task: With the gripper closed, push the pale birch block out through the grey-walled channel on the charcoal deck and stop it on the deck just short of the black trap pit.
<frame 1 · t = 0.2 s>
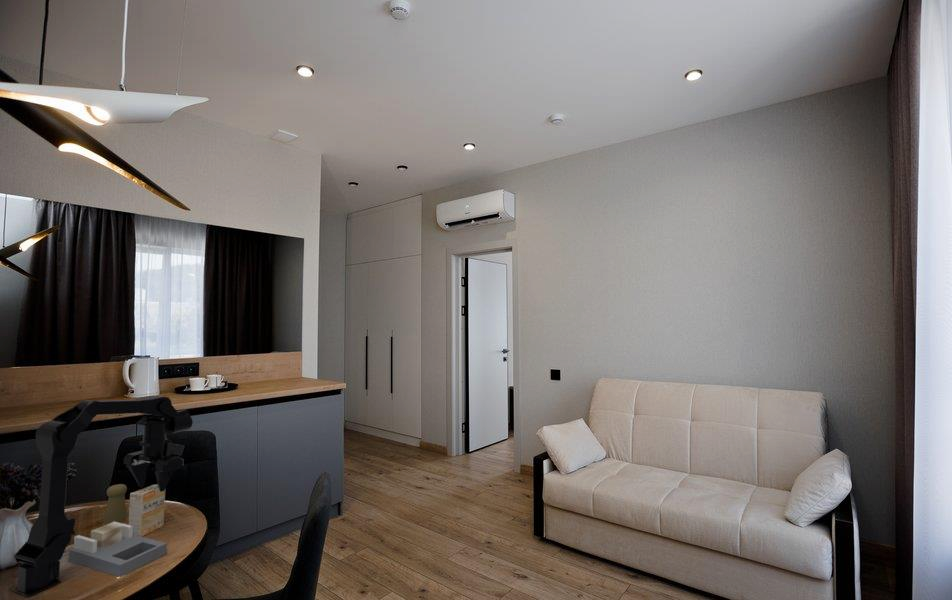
hand: (151, 489, 135), 14 cm above the table, fingers open, 9 cm apart
birch block: (106, 542, 125), point 3 cm above the table, touching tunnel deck
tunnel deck: (118, 557, 123), on the table
cork: (115, 519, 146), on the table
supplement box: (146, 532, 138), on the table
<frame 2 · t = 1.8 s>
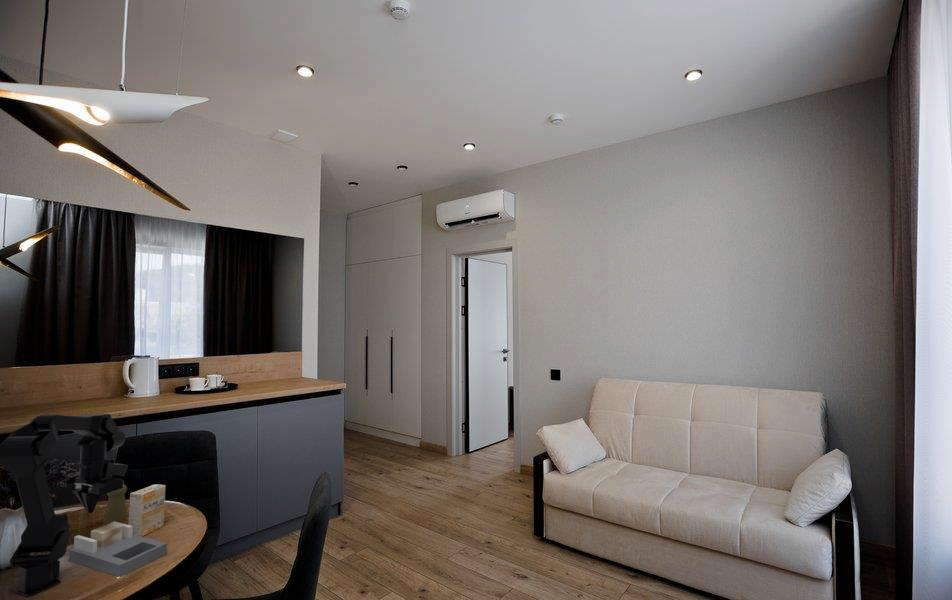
hand: (90, 512, 127), 10 cm above the table, fingers closed
nothing on the table moved.
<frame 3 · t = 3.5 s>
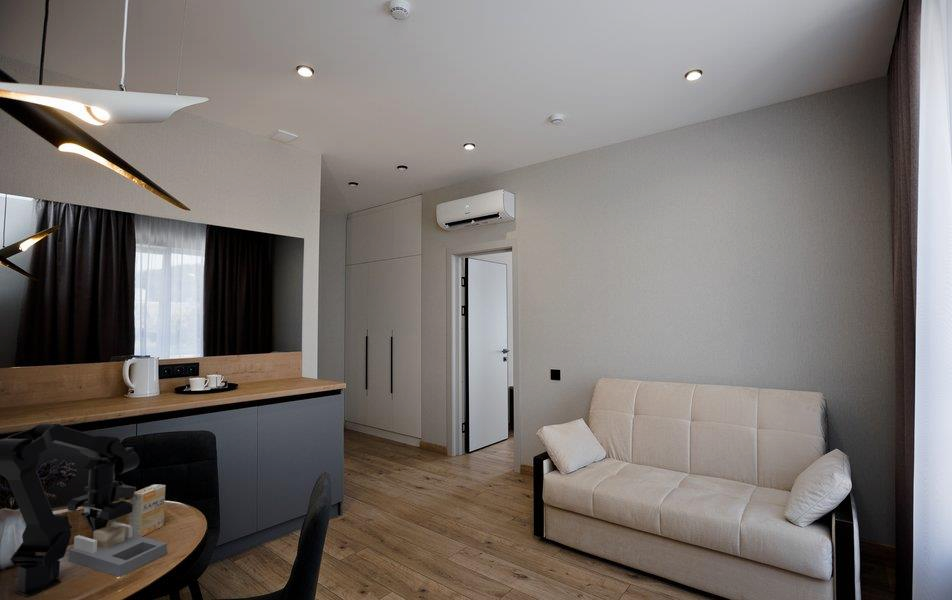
hand: (98, 536, 126), 4 cm above the table, fingers closed
birch block: (108, 543, 124), point 3 cm above the table, touching gripper, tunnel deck
everything else where it was.
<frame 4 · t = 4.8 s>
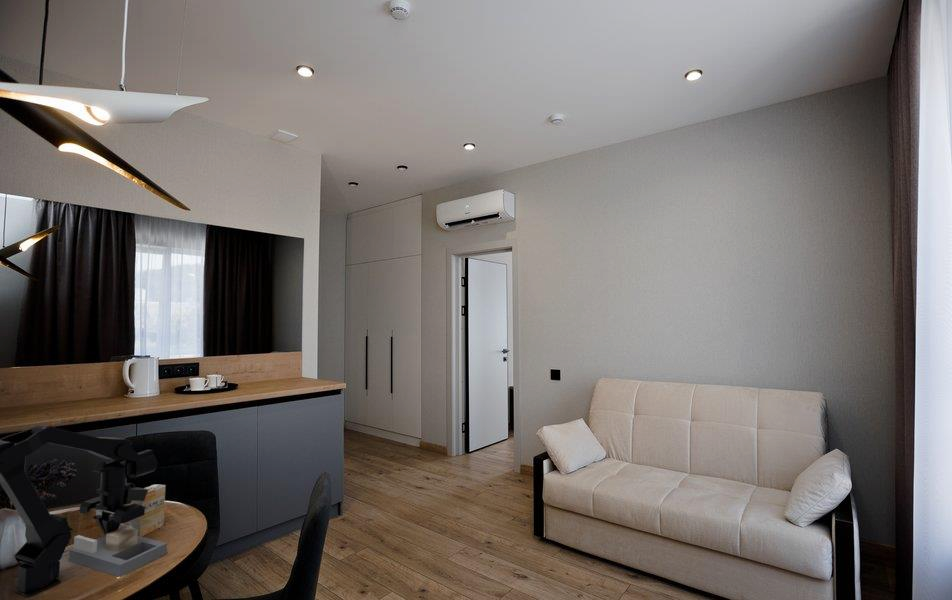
hand: (110, 539, 124), 4 cm above the table, fingers closed
birch block: (121, 546, 123), point 3 cm above the table, touching gripper, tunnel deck
everything else where it was.
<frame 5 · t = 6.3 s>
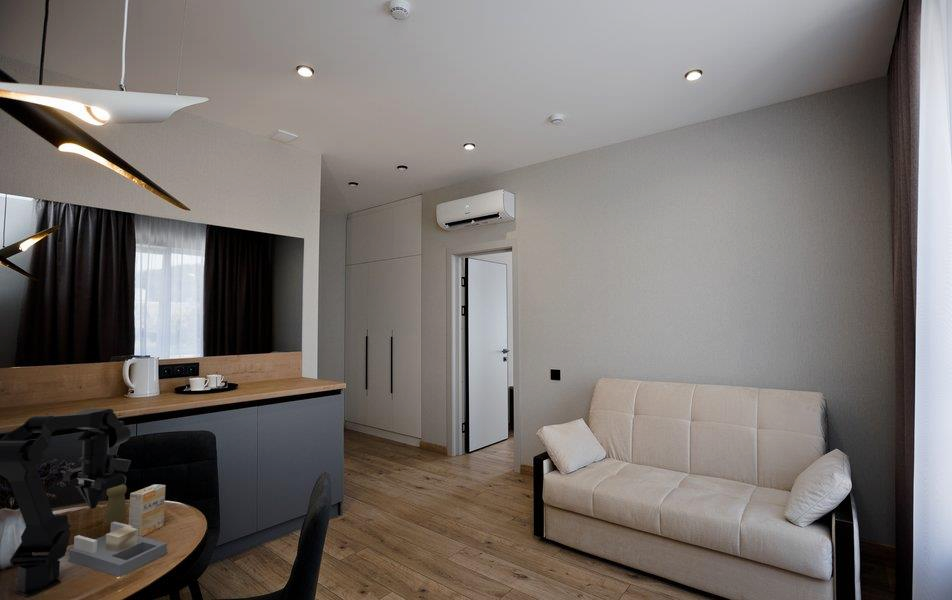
hand: (92, 508, 126), 12 cm above the table, fingers closed
birch block: (121, 546, 123), point 3 cm above the table, touching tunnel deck
everything else where it was.
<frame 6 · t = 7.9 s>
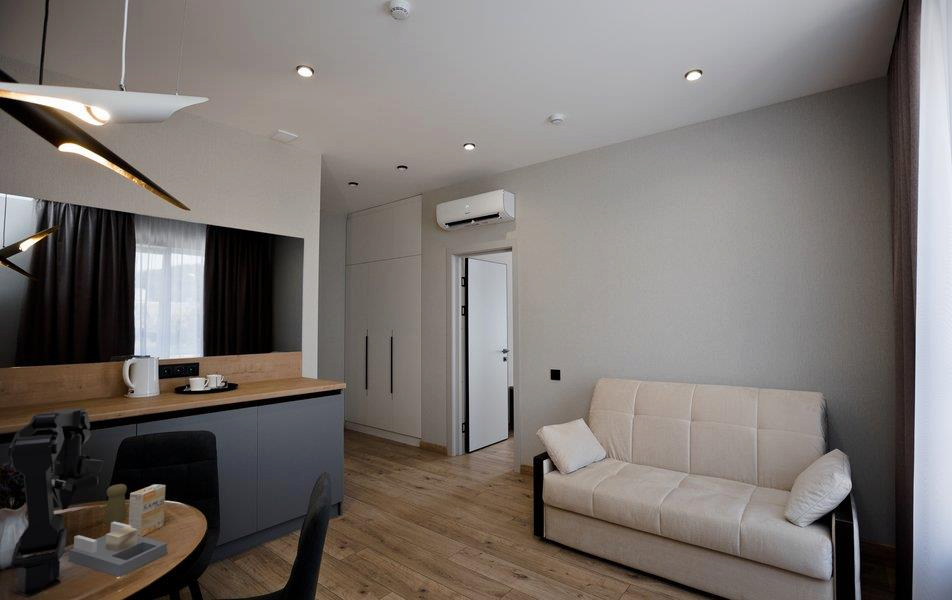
hand: (64, 509, 125), 12 cm above the table, fingers closed
nothing on the table moved.
at the end: birch block inside the target area (1.0 cm from its centre), point 3.0 cm above the table; birch block tilted 0°; the gripper is holding nothing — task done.
